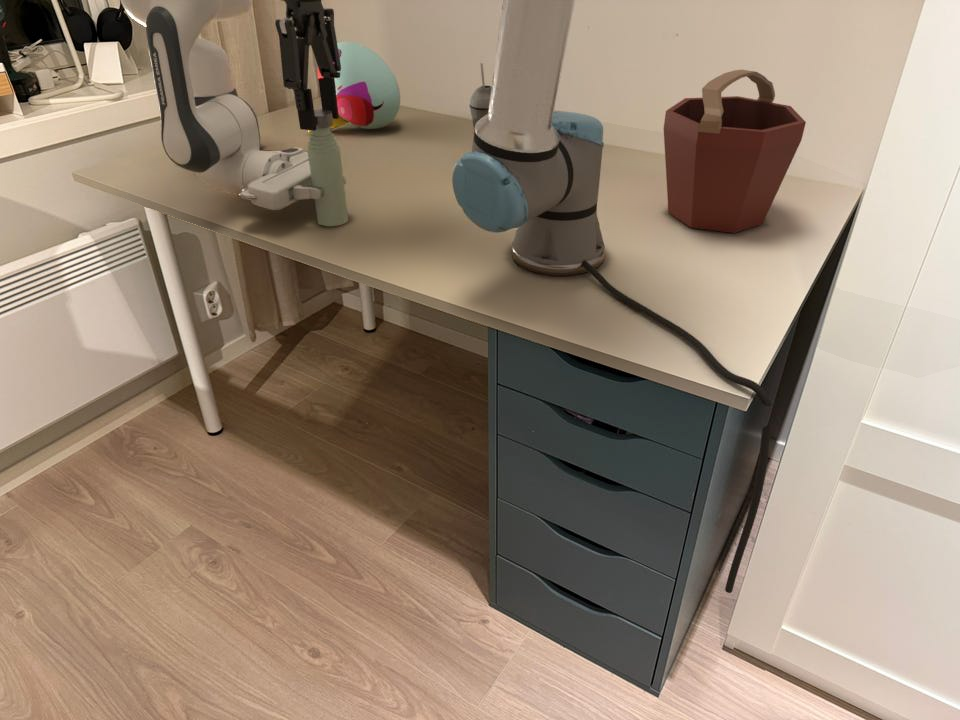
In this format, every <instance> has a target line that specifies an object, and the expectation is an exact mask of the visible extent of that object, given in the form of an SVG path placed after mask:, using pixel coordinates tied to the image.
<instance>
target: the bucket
mask: <svg viewBox="0 0 960 720" xmlns="http://www.w3.org/2000/svg"><path fill="white" fill-rule="evenodd" d="M746 77H747V78H748V79H749V80H750V81H751V82H752V83H754V84H755V85H756V88H757V91H758V98H757V99H754V98H750V97H744V96H739V95H736V96H733V95H732V96H731V95H730V96H722V92H724V91H725V90H726V89H727V88H728V87H729V86H730V85H732V84H734V83H735V82H737V81H738V80H740V79H743V78H746ZM701 96H702V97H685V98H683V99H682V100H680V101H679V102H677V103H676V104H674V105H672V106H670V107H669V108H668V109H667V110H665V115H664V122H663V143H664V156H665V157H664V159H665V161H664V162H665V177H666V179H665V180H666V192H667V193H666V194H667V196H666V197H667V212H668V214H670V215H671V216H672V217H674V218H676V219H677V220H679V221H680V222H681V223H683V224H684V225H686V226H687V227H689V228H691V229H698V230H707V231H715V232H721V233H732V234H735V233H739V232H742V231H745V230H749V229H751V228H754V227H757V226H760V225H762V224H764V222H765V219H766V218H767V215H768V213H769V211H770V209H771V207H772V205H773V202H774V201H775V198H776V196H777V195H778V192H779V189H780V187H781V185H782V183H783V181H784V179H785V177H786V175H787V173H788V170H789V168H790V167H791V164H792V162H793V159H794V158H795V155H796V153H797V151H798V150H799V149H798V148H799V147H800V145H801V142H802V139H803V135H804V132H805V128H806V125H807V124H806V120H805V119H804V118H803V117H802V116H801V115H800V114H799V113H798V112H797V111H796V110H795V109H794V108H793V107H792V106H791V105H787V104H781V103H776V102H774V101H775V98H776V92H775V88H774V83H773V82H772V81H771V80H769V79H768V78H767V77H766V76H765V75H763V74H761V73H760V72H758V71H755V70H748V69H735V70H732V71H727V72H724V73H722V74H720V75H717V76H716V77H714V78H713V79H711V80H709V81H708V82H707V83H706V84H705V85H704V86H703V87H702V88H701Z"/></svg>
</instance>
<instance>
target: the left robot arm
mask: <svg viewBox="0 0 960 720" xmlns="http://www.w3.org/2000/svg"><path fill="white" fill-rule="evenodd" d="M120 3H121V6H122V7H123V9H124V10H125V11H126V13H127V15H129V16H130V17H131V19H134V21H136V22H137V23H139V24H141V25H143V26H144V27H145V33H146V41H147V42H146V43H147V48H148V54H149V60H150V65H151V69H152V76H153V80H154V81H153V82H154V86H155V91H156V97H157V102H158V107H159V108H158V109H159V114H160V116H159V117H160V140H161V143H162V148H163V150H164V152H165V154H166V155H167V157H168V158H169V160H171V161H172V162H173V163H174V164H175V165H176V166H178V167H180V168H182V169H184V170H186V171H189V172H192V173H195V174H196V176H197V178H198V179H199V180H200V181H201V182H202V183H204V184H205V185H206V186H208V187H210V188H212V189H215V190H217V191H220V192H224V193H228V194H232V195H238V196H239V197H240V199H242V200H249V201H250V203H251V204H252V205H254V206H257V207H260V208H263V209H266V210H270V211H280V210H283V209H284V208H287V207H288V206H290V205H291V204H293V203H295V202H297V201H299V200H311V199H313V200H315V199H320V198H321V197H323V196H324V193H323V188H322V187H317V186H314V187H313V185H312V179H311V172H310V165H309V158H308V151H304V149H303V148H302V147H290V148H286V149H282V150H269V151H267V150H262V149H261V135H260V126H259V121H258V118H257V115H256V112H255V111H254V109H253V107H251V105H250V104H249V103H248V102H247V101H246V100H244V99H243V98H242V97H239V94H238V90H237V88H235V86H234V81H233V76H232V71H231V65H230V61H229V56H228V53H227V52H226V51H225V50H224V48H223V47H221V45H219V44H218V43H215V42H213V41H211V40H208V39H206V38H204V37H201V36H200V35H201V34H202V32H203V31H204V30H205V29H206V27H208V26H209V25H210V24H211V23H213V22H214V23H215V22H226V21H231V20H235V19H239V18H242V17H245V16H247V15H248V13H250V10H251V8H252V6H253V0H120ZM343 180H344V185H346V184H347V178H346V176H345V174H343Z"/></svg>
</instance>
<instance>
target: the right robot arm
mask: <svg viewBox="0 0 960 720" xmlns="http://www.w3.org/2000/svg"><path fill="white" fill-rule="evenodd" d="M281 1H282V2H284V3H285V16H284V18H282V19H280V18H279V19H278V18H277V19H275V21H274V22H275V23H274V24H275V28H276V32H277V36H278V41H279V52H280V53H279V54H280V62H281V72H282V82H283V87H284V88H286V89H288V90H293V92H294V101H295V107H296V110H297V117H298V123H299V129H300V130H304V131H308V130H312V131H315V130H317V129H316V121H315V114H314V110H315V106H314V101H313V100H314V99H313V92H312V89H311V88H308V83H309V82H308V81H309V62H310V61H309V59H310V46H311V49H312V52H313V56H314V58H315V61H316V65H317V69H318V68H319V71H320V74H321V76H322V77H324V78H319V79H318V78H317V81H318V88H319V95H320V103H321V109H325V110H330V111H332V117H333V119H338V118H339V114H338V106H337V97H336V87H335V79H334V78H340V71H341V63H340V57H339V51H338V45H337V43H338V39H337V34H336V33H337V32H336V28H335V10H334V9H333V8H329V7H328V8H327V7H326V8H325V7H324V6H323V3H322V0H281ZM575 4H576V0H502V5H501V14H500V21H499V26H498V36H497V42H496V52H495V58H494V65H493V66H494V68H493V74H492V81H491V87H492V88H491V96H490V103H489V111H488V114H487V115H485V116H484V117H483V118H481V119H480V120H478V121H477V123H476V125H475V131H473V139H472V146H471V151H469V152H466V153H464V155H462V157H461V158H459V160H457V161H456V163H455V165H454V167H453V171H452V177H451V183H452V191H453V194H454V197H455V199H456V201H457V204H458V206H459V207H460V208H461V209H462V212H463V214H464V215H465V216H466V217H467V218H468V220H470V221H471V222H472V223H473V224H474V225H475V226H477V227H478V228H480V229H482V230H484V231H486V232H490V233H497V234H498V233H504V232H507V231H510V230H512V229H516V232H515V234H514V237H513V240H512V243H511V244H512V245H511V257H512V259H513V261H514V262H515V263H516V264H517V265H519V267H521V268H524V269H526V270H528V271H530V272H532V273H533V272H534V273H537V274H541V275H547V276H558V277H559V276H560V277H561V276H573V275H574V276H575V275H580V274H584V273H589V274H590V275H591V276H593V278H595V280H597V282H598V283H599V284H600V285H601V286H602V287H603V288H604V289H605V290H607V291H608V292H609V293H610V294H611V295H613V296H614V297H615V298H617V299H618V300H620V301H621V302H623V303H624V304H626V305H628V306H629V307H632V308H633V309H634V310H636V311H638V312H640V313H642V314H644V315H645V316H647V317H648V318H650V319H651V320H653V321H655V322H656V323H658V324H660V325H662V326H663V327H665V328H667V329H669V330H670V331H672V332H673V333H675V334H677V335H678V336H679V337H681V338H683V339H684V340H686V341H687V342H688V343H689V344H690V345H692V346H693V347H694V348H695V349H696V350H697V351H698V352H699V353H700V354H701V355H702V357H703V358H704V360H706V361H707V362H708V364H709V365H710V366H711V367H712V368H713V369H714V371H716V372H717V373H718V374H720V376H722V377H723V378H724V379H726V380H727V381H729V382H731V383H734V384H736V385H738V386H742V387H745V388H747V389H749V390H751V391H752V392H754V393H755V394H756V395H757V397H758V398H759V399H760V401H761V403H762V405H764V406H766V407H772V401H771V398H770V397H769V395H768V393H767V392H766V390H765V389H764V388H763V387H762V386H761V385H760V384H759V383H757V382H755V381H754V380H751V379H749V378H746V377H743V376H740V375H737V374H735V373H733V372H732V371H729V370H728V369H727V368H726V367H725V366H724V365H723V364H722V363H720V361H718V360H717V358H716V357H715V356H714V355H713V354H712V353H711V351H710V350H709V349H708V348H707V347H706V346H705V345H704V344H703V343H702V342H701V341H700V340H698V339H697V337H695V336H693V334H691V333H689V332H688V331H687V330H685V329H683V328H682V327H681V326H679V325H677V324H676V323H674V322H672V321H670V320H669V319H667V318H665V317H664V316H662V315H660V314H658V313H657V312H655V311H653V310H652V309H650V308H648V307H647V306H645V305H644V304H641V302H640V303H639V302H638V301H636V300H634V299H632V298H631V297H629V296H628V295H626V294H624V293H623V292H622V291H620V290H619V289H617V288H616V287H614V286H613V285H612V284H611V283H610V282H609V281H608V280H607V279H606V278H605V277H604V276H603V275H602V274H601V273H600V272H599V271H598V270H597V269H596V268H598V267H599V266H600V265H601V264H602V263H603V261H604V258H605V249H606V247H605V242H604V239H603V233H602V230H601V226H600V222H599V218H598V213H597V212H598V199H599V189H600V182H601V181H600V180H601V171H602V170H601V169H602V161H603V160H602V159H603V148H604V147H605V143H604V125H603V123H602V122H601V121H600V120H599V119H598V118H596V117H594V116H591V115H589V114H585V113H580V112H574V111H566V110H555V108H556V102H557V97H558V92H559V86H560V83H561V76H562V71H563V66H564V60H565V56H566V51H567V46H568V40H569V35H570V31H571V30H570V29H571V24H572V19H573V14H574V9H575ZM333 62H334V63H333ZM337 71H338V72H337ZM772 429H773V423H772V422H771V423H769V424H767V425H765V426H763V427H762V429H761V436H760V445H759V446H760V447H759V457H758V464H757V470H756V477H755V482H754V486H753V492H752V497H751V501H750V504H749V507H748V508H749V509H748V511H747V516H746V518H745V522H744V525H743V529H742V531H741V534H740V537H739V540H738V544H737V546H736V550H735V552H734V556H733V558H732V559H733V560H732V563H731V565H730V569H729V573H728V576H727V580H726V584H725V588H724V591H725V592H726V593H727V594H732V592H733V590H734V587H735V582H736V578H737V576H738V573H739V568H740V566H741V563H742V560H743V557H744V553H745V550H746V547H747V544H748V542H749V539H750V535H751V532H752V529H753V526H754V524H755V520H756V516H757V513H758V509H759V507H760V503H761V499H762V495H763V490H764V484H765V480H766V474H767V467H768V462H769V461H768V460H769V450H770V443H771V442H770V441H771V433H772Z"/></svg>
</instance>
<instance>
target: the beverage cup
mask: <svg viewBox="0 0 960 720" xmlns="http://www.w3.org/2000/svg"><path fill="white" fill-rule="evenodd" d="M480 77H481V86H478V87H477V88H476V89H475V90H474V91H473V92H472V95H471V97H470V100H469V104H468V105H469V108H470V109H469V111H470V115H471V117H472V118H471V120H472V128H473V129H472V131H473V132H474V131H475V125H476V123H477V121H478V120H480V119H481V118H483V117H484V116H485V115H487V114H488V111H489V103H490V96H491V88H492V85H486V83H485V73H484V63H482V62H481V63H480Z"/></svg>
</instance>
